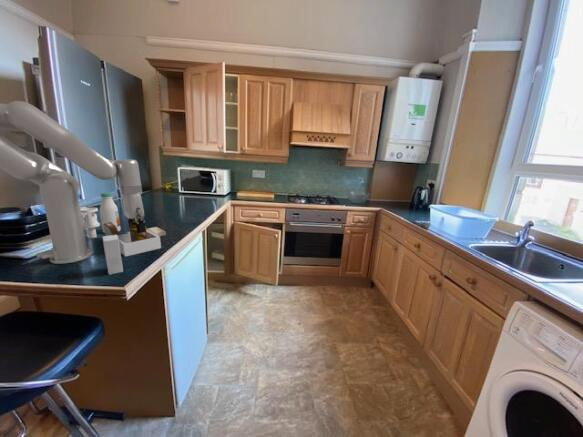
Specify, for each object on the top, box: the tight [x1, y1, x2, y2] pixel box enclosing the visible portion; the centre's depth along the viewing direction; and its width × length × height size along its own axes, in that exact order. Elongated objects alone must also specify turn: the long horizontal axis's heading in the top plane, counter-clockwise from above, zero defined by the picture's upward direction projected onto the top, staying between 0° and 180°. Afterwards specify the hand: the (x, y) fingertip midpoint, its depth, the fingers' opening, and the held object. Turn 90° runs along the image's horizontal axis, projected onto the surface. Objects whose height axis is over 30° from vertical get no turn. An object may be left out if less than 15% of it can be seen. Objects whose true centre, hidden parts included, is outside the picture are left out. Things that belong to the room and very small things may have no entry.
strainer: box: [80, 206, 101, 239], centre depth 119 cm, size 7×7×15 cm
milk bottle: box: [99, 192, 122, 234], centre depth 128 cm, size 8×8×20 cm
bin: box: [117, 230, 162, 257], centre depth 108 cm, size 14×15×5 cm
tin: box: [104, 222, 120, 236], centre depth 115 cm, size 15×3×8 cm, turn 47°
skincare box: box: [102, 235, 124, 276], centre depth 86 cm, size 6×4×12 cm
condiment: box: [129, 220, 147, 242], centre depth 108 cm, size 7×8×12 cm
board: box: [126, 226, 167, 237], centre depth 126 cm, size 14×11×2 cm
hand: (137, 230), depth 108 cm, fingers open, 9 cm apart
